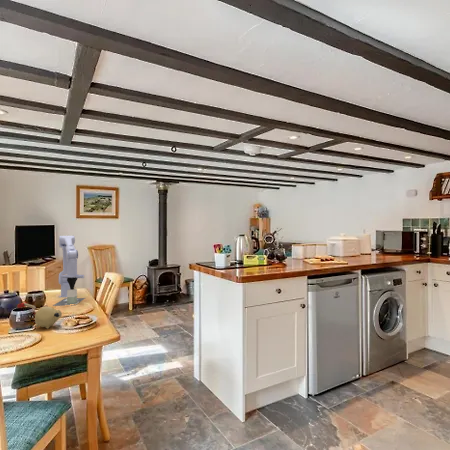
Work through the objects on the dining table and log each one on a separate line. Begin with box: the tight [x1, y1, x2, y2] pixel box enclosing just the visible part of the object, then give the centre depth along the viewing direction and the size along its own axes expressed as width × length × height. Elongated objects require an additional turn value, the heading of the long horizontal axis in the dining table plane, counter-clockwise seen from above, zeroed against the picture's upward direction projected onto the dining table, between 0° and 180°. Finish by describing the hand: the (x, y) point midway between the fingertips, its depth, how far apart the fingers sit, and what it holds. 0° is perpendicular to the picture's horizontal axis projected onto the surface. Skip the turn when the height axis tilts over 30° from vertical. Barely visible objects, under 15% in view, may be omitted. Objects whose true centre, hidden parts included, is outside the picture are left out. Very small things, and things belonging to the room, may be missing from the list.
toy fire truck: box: [16, 301, 37, 311], centre depth 169 cm, size 3×14×10 cm, turn 84°
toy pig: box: [34, 306, 63, 330], centre depth 159 cm, size 10×12×11 cm
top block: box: [66, 288, 78, 298], centre depth 206 cm, size 4×4×4 cm
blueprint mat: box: [52, 297, 86, 307], centre depth 210 cm, size 20×14×1 cm
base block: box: [66, 295, 78, 304], centre depth 206 cm, size 4×4×4 cm
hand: (72, 289), depth 206 cm, fingers closed
